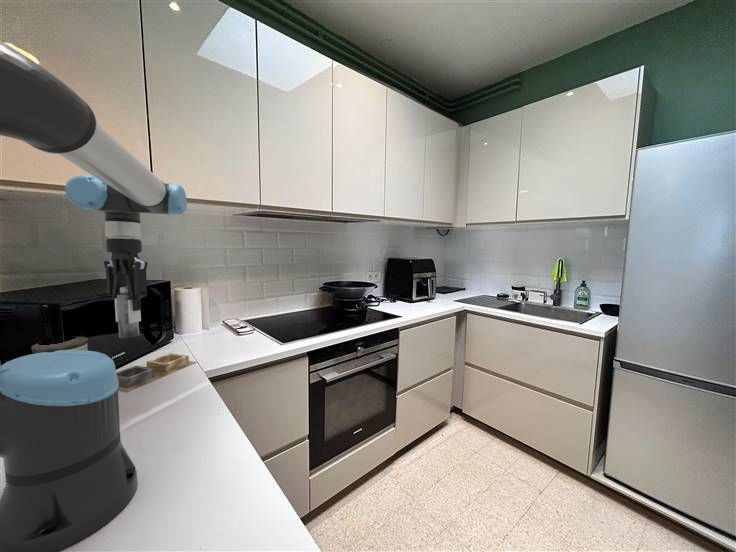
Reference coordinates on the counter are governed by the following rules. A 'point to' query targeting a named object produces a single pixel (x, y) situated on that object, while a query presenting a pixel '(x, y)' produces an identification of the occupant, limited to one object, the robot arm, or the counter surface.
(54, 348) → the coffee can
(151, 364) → the tool stand
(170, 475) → the counter surface
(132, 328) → the grey cylinder
